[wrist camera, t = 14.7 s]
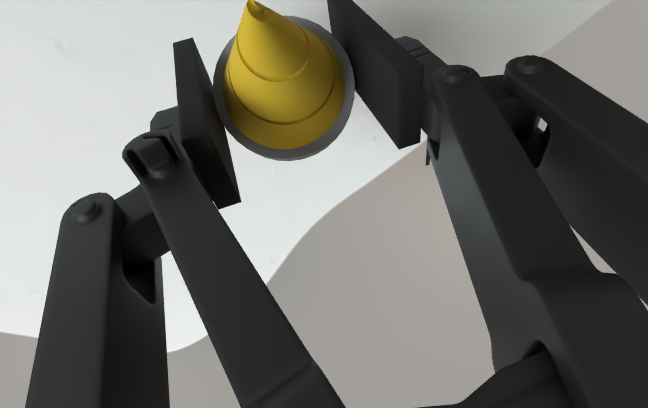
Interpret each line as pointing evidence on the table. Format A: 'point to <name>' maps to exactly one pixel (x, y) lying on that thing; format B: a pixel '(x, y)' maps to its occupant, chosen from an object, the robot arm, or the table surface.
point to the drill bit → (283, 85)
